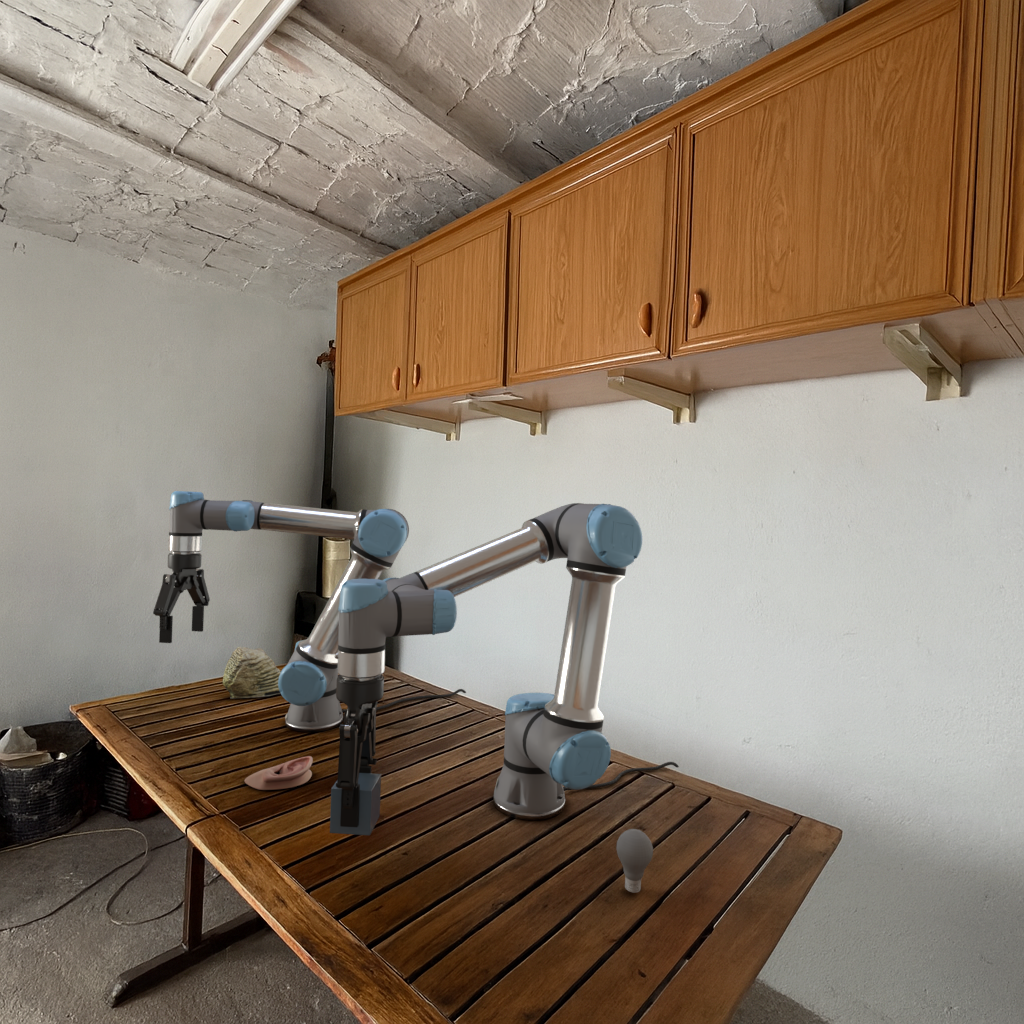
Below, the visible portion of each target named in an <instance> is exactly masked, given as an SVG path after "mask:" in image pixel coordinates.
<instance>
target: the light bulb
mask: <svg viewBox="0 0 1024 1024" xmlns="http://www.w3.org/2000/svg"><path fill="white" fill-rule="evenodd" d="M615 849H616V854H617V857H618V859H619V861H620V863H621V865H622V867H623V873H624V874H623V875H624V876H625V878H624V888H625V890H627V891H628V892H630V893H634V894H635V893H639V892H640V891H641V889H642V887H641V886H642V879H643V877H644V875H645V871H646V868H647V867H648V866H649V864H650V863H651V861H652V859H653V855H654V847H653V843H652V841H651V838H649V836H648V835H647V834H646V833H645V832H643V831H642V830H641V829H636V828H629V829H627V830H625V831H623V832H622V833H621V834H620V835H619V837H618V839H617V841H616V847H615Z"/></svg>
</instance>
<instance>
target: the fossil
mask: <svg viewBox="0 0 1024 1024" xmlns="http://www.w3.org/2000/svg"><path fill="white" fill-rule="evenodd" d="M280 673H281V669H279V668H278V667H277V665H276V663H275V662H274V660H273V659H272V658H271V657H270V656H269V655H268V654H267V653H266V652H265V650H264V649H263V648H260V647H258V648H251V647H247V646H246V647H245V646H238V647H237V648H236V649H235V650H233V651H232V653H231V656H230V657H229V659H228V660H227V663H226V666H225V668H224V671H223V675H222V676H223V677H222V685H223V687H224V688H225V690H226V691H228V693H229V698H230V699H250V698H264V697H271V696H275V695H281V693H280V691H279V687H278V680H279V676H280Z"/></svg>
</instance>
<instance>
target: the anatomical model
mask: <svg viewBox="0 0 1024 1024" xmlns="http://www.w3.org/2000/svg"><path fill="white" fill-rule="evenodd" d="M313 759H314V758H313V757H312V756H311V755H307V756H301V757H299V758H295V759H292V760H291V759H290V760H288V761H286V762H283V763H280V764H277V765H274V766H271V767H267V768H264V769H261V770H258V771H256V772H254V773H252V774H250V775H248V776H247V777H245V778H244V783H245V784H246V785H248V786H249V787H251V788H253V789H256V790H260V791H275V790H283V789H290V788H295V787H297V786H301V785H304V784H305V783H307V782H308V781H309V780H310V779H311V777H312V776H313V772H312V771H311V767H312V765H313V761H314V760H313Z"/></svg>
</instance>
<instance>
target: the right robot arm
mask: <svg viewBox="0 0 1024 1024" xmlns="http://www.w3.org/2000/svg"><path fill="white" fill-rule="evenodd" d="M642 547H643V531H642V527H641V525H640V523H639V521H638V520H637V518H636V516H635V515H634V514H633V513H632V512H631V511H630V510H629V509H627V508H625V507H623V506H619V505H616V504H615V505H614V504H610V503H584V502H583V503H581V502H574V503H569V504H568V503H567V504H565V505H561V506H558V507H556V508H554V509H551V510H549V511H547V512H544V513H542V514H540V515H537V516H534V517H533V518H530V519H528V520H525V521H524V522H523V523H522V525H521V528H519V529H516V530H513V531H511V532H509V533H507V534H504V535H501V536H499V537H496V538H494V539H492V540H489V541H487V542H485V543H482V544H480V545H478V546H474V547H472V548H470V549H467V550H465V551H463V552H460V553H458V554H455V555H452V556H450V557H448V558H445V559H443V560H441V561H438V562H436V563H434V564H431V565H429V566H426V567H424V568H421V569H418V570H416V571H414V572H411V573H409V574H406V575H404V576H401V577H386V578H384V579H379V578H378V579H352V580H348V581H346V582H344V583H343V584H342V586H341V592H340V602H339V608H338V611H339V640H338V653H336V654H335V658H336V659H338V667H337V672H338V678H337V687H336V698H337V700H338V701H339V702H340V703H342V704H344V705H346V707H347V708H346V709H347V712H344V714H343V723H341V724H340V725H339V726H338V733H339V747H338V763H337V764H338V765H337V766H338V767H337V780H336V781H337V783H336V782H335V783H336V787H337V788H342V793H341V822H340V826H342V827H358V825H359V798H360V784H358V778H359V773H372V766H376V765H377V761H378V758H375V756H376V752H377V751H376V735H377V734H376V733H377V731H376V729H377V727H376V726H377V710H376V707H378V706H377V705H378V702H379V701H381V700H382V699H383V697H384V691H385V690H384V689H385V677H384V675H383V674H384V673H385V671H386V669H385V667H386V640H387V638H392V637H393V638H394V637H407V636H410V637H411V636H424V635H425V636H428V635H432V636H435V635H439V634H446V633H449V632H451V631H452V630H453V629H454V627H455V625H456V622H457V618H458V617H457V616H458V607H457V601H456V598H455V597H458V596H460V595H462V594H464V593H465V594H466V593H467V592H469V591H472V590H474V589H476V588H479V587H481V586H483V585H485V584H488V583H490V582H492V581H495V580H497V579H500V578H502V577H504V576H506V575H508V574H510V573H513V572H515V571H517V570H520V569H522V568H524V567H526V566H530V565H531V564H533V563H537V564H540V565H542V564H545V563H547V562H550V561H554V560H559V559H566V566H565V569H566V570H567V571H568V572H569V574H570V576H571V583H570V584H571V585H570V591H569V597H568V603H567V610H566V617H565V623H564V629H563V634H562V636H563V637H562V642H561V650H560V654H559V655H560V656H559V662H558V668H557V675H556V681H555V688H554V693H550V692H549V693H548V692H524V693H518V694H513V695H512V696H510V697H509V698H508V699H507V701H506V705H505V711H504V715H505V716H504V717H505V722H504V745H503V746H504V747H503V765H502V768H501V771H500V774H499V775H498V776H497V779H496V782H495V783H496V784H495V787H494V791H493V799H492V800H493V805H494V806H495V808H496V809H497V810H498V811H499V812H501V813H502V814H504V815H506V816H508V817H512V818H515V819H519V820H525V821H540V820H547V819H552V818H553V817H556V816H558V815H559V814H561V813H562V812H563V811H564V810H565V807H566V793H565V791H579V790H590V789H597V788H598V789H599V788H604V787H608V786H611V785H614V784H616V783H617V782H618V781H619V780H620V779H621V778H622V777H623V776H624V775H626V774H629V773H635V772H650V771H657V770H661V769H663V768H665V767H667V766H674V767H675V768H680V766H679V764H677V763H676V762H674V761H667V762H664V763H662V764H660V765H656V766H649V767H633V768H628V769H625V770H622V771H621V772H619V773H618V775H617V776H616V777H615V778H613V779H612V780H609V781H606V782H602V783H596V782H597V781H598V780H600V779H601V778H602V777H603V775H604V774H605V773H606V771H607V769H608V767H609V766H610V765H609V764H610V762H611V756H612V749H611V745H610V742H608V738H607V737H606V735H604V734H603V726H604V719H605V716H604V714H603V712H602V711H601V710H600V708H599V698H600V692H601V686H602V679H603V671H604V666H605V665H604V664H605V658H606V652H607V646H608V638H609V633H610V625H611V618H612V614H613V613H612V612H613V606H614V605H613V604H614V599H615V594H616V593H615V592H616V586H617V584H618V583H619V582H621V581H622V580H624V579H625V578H626V571H627V567H629V566H630V565H632V564H634V562H635V560H636V559H638V557H639V556H640V553H641V551H642ZM595 783H596V784H595Z"/></svg>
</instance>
